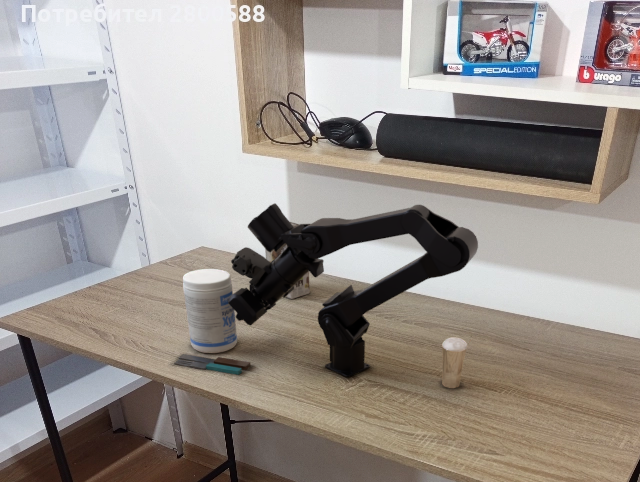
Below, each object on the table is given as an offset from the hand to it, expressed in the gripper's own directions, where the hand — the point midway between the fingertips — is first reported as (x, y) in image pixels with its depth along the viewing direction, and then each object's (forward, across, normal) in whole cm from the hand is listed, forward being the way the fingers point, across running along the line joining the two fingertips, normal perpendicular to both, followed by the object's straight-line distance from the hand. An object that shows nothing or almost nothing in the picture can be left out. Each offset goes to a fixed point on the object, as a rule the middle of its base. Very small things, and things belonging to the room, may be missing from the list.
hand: (237, 318), depth 137 cm
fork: (+6, +10, +3) cm, 12 cm away
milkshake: (-27, 0, +36) cm, 45 cm away
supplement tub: (+9, 0, +1) cm, 9 cm away
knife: (+6, +7, +3) cm, 10 cm away
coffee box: (+8, -34, +2) cm, 35 cm away
